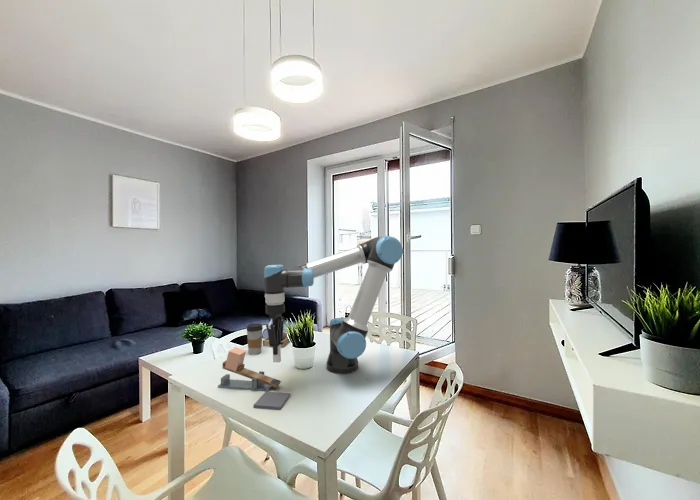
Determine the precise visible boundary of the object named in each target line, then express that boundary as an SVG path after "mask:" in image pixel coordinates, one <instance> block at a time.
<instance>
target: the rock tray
mask: <svg viewBox="0 0 700 500" xmlns="http://www.w3.org/2000/svg"><path fill="white" fill-rule="evenodd" d="M283 333H284V336H285V339H284V340H283V341H281V342H283V344H280V347H281V349H282V348H285V347H286V346H287V345H289V343H290V342H289V339H288V337H287V333H288V332H283ZM263 346H269V347H268V348H271V347H270V344H269V337H268V336H267V337H266V338H264V339H262V347H263Z"/></svg>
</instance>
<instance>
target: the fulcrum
mask: <svg viewBox="0 0 700 500" xmlns="http://www.w3.org/2000/svg"><path fill="white" fill-rule="evenodd" d="M258 373H262V374H263V375H265V371H259V372H258ZM217 388H219V389H229V390H232V389H233V390H244V391H247V390H248V391H259V392H266V391H269V392H271V390H272V389H273V388H274V387H273V386H270V385H267V384H264V383H262V382H259V381H257V378H252V379H251V380H244V379H243V380H242V379H232V378H231V374H230V373H228V374H227V373H226V374H224V375H223V376H222V377H220V383H219V384H218V385H217Z"/></svg>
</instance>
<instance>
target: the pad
mask: <svg viewBox="0 0 700 500" xmlns="http://www.w3.org/2000/svg"><path fill="white" fill-rule="evenodd" d="M291 396H292V395H291V392H283V391H282V392H280V391H279V392H278V391H264V392H263V394H262V395H261V396H260V397H259V398H258V399H257V401H256V402H254V403H253V408H254V409H261V410H262V409H265V410H276V411H277V410H278V411H281V410H282V408H283V407H284V406H285V404H287V402H288V400H289V399H290V397H291Z"/></svg>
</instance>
